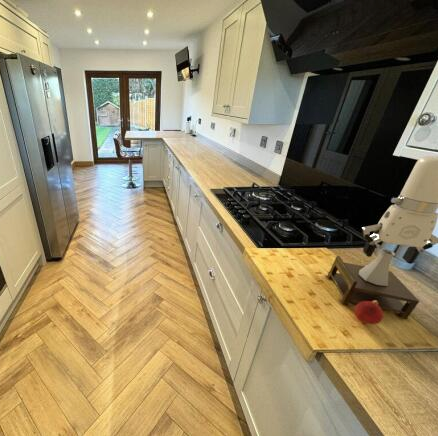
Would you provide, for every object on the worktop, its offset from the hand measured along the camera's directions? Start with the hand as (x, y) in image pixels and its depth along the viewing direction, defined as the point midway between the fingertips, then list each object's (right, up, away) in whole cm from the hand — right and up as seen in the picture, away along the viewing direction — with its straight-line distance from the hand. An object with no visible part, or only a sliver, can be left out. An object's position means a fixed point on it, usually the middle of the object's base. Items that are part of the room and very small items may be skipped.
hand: (386, 257), depth 70 cm
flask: (-1, -7, +4) cm, 8 cm away
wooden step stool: (-1, -13, +7) cm, 15 cm away
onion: (-10, -18, -3) cm, 21 cm away
